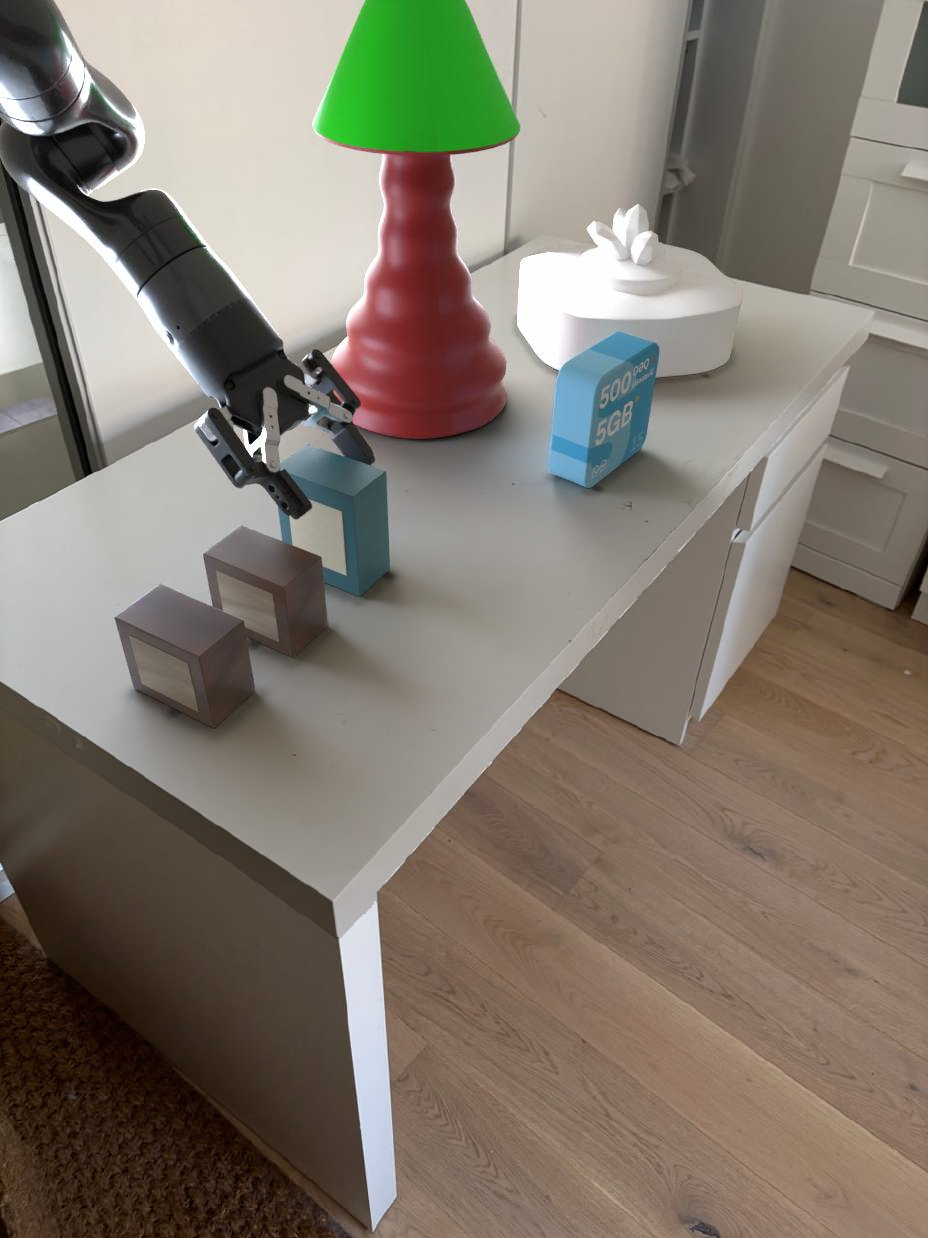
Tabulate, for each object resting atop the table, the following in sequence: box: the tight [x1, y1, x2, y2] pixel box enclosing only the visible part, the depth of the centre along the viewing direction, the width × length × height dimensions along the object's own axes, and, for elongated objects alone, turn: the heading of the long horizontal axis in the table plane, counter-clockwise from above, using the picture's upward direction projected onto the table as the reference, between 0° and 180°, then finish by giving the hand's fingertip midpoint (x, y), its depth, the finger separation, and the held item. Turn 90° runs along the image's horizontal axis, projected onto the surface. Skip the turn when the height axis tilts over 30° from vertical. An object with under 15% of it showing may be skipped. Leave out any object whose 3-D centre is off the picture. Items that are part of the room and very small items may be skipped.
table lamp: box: [312, 0, 521, 440], centre depth 95 cm, size 20×20×45 cm
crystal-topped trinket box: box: [516, 203, 744, 379], centre depth 119 cm, size 25×25×16 cm
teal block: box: [277, 443, 391, 597], centre depth 81 cm, size 5×8×10 cm, turn 59°
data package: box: [548, 332, 659, 489], centre depth 96 cm, size 12×4×12 cm, turn 142°
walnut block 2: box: [202, 524, 329, 658], centre depth 76 cm, size 5×8×7 cm, turn 59°
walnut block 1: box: [113, 583, 256, 729], centre depth 70 cm, size 5×8×7 cm, turn 59°
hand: (337, 489), depth 79 cm, fingers open, 8 cm apart
